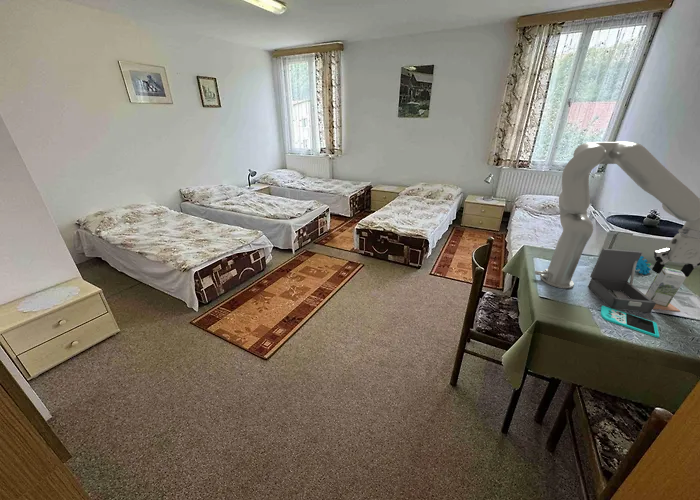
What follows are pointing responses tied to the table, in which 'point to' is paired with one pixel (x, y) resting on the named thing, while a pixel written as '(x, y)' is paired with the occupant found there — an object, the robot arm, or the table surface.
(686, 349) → the table surface
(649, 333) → the handheld game console
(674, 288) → the syrup box
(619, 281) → the case
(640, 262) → the gear
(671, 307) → the rubber mat
